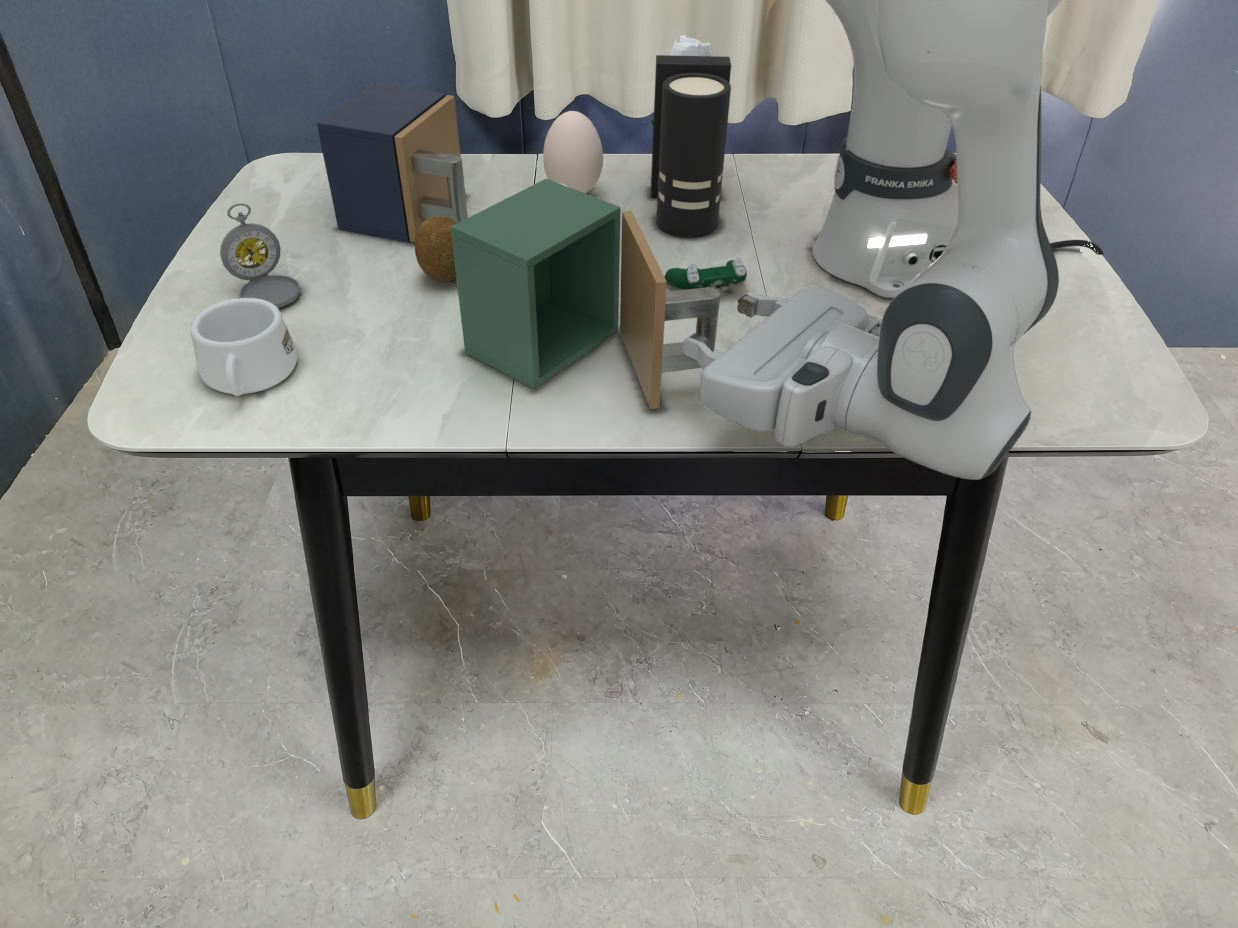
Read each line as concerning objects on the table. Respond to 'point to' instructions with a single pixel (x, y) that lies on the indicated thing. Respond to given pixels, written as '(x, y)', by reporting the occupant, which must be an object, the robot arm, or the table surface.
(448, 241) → the fruit
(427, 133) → the machine door
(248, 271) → the pocket watch
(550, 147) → the egg
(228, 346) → the mug
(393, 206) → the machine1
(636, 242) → the machine door
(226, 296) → the table surface
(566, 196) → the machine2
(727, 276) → the gaming controller
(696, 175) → the light fixture
